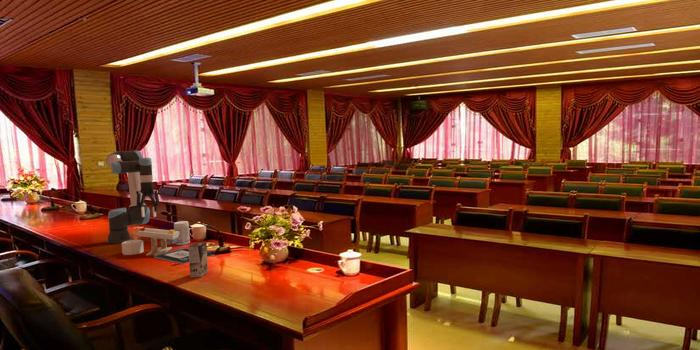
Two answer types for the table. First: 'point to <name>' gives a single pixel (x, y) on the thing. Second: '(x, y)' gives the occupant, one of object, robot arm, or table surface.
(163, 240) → the chute stand
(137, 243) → the cup
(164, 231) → the seesaw chute
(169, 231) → the ball
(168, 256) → the sketchbook
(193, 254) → the coffee box
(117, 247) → the table surface
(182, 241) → the supplement tub
